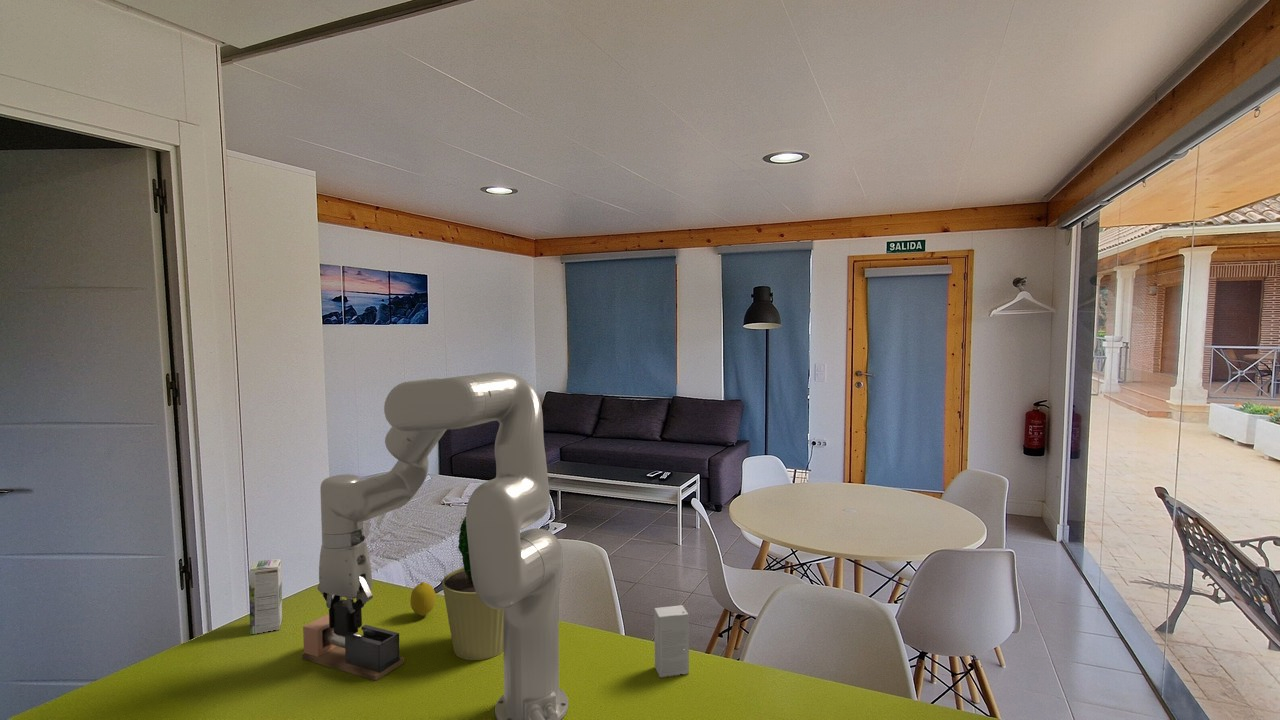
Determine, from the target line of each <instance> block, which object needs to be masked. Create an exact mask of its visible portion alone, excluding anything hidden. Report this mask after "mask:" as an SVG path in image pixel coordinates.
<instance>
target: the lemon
mask: <svg viewBox="0 0 1280 720" xmlns="http://www.w3.org/2000/svg"><path fill="white" fill-rule="evenodd" d="M436 599H437V597H436V592H435V589H434V587H433V586H432V585H431V584H430V583H426V582H423V581H422V582H420V583H419V584H417V585H416V586H415V587H413V590H411V594H410V601H409V602H410V608H411V609H412V611H413V612H414V613H415V614H417V615H419V616H421V617H425V616H426V615H427V614H429V613H431V611H432V610H433V609H434V607H435V604H436Z"/></svg>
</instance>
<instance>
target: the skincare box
mask: <svg viewBox="0 0 1280 720" xmlns="http://www.w3.org/2000/svg"><path fill="white" fill-rule="evenodd" d="M653 611H654V612H653V617H654V618H653V619H654V620H653V623H654V625H653V626H654V667H655V669H656V672H657V675H658V677H659V678H660V677H661V678H667V676H668V677H675V676H681V675H680V674H683V675H687V674H688V673H689V674H690V657H689V656H690V655H689V654H690V643H689V642H690V636H689V635H690V628H689V624H690V623H689V613H688V611H687V610H686V609H685V607H684V605H682V604H681V605H673V606H670V605H669V606H661V607H654V608H653ZM683 649H685V650H683ZM689 674H688V675H689ZM674 675H675V676H674Z"/></svg>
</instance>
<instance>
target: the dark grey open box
mask: <svg viewBox="0 0 1280 720" xmlns="http://www.w3.org/2000/svg"><path fill="white" fill-rule="evenodd" d="M360 629H361V631H362V635H363V636H365V637H361V636H357V635H353V634H347V635H345V656H346V663H347V664H351V665H354V666H358V667H361V668H365V669H368V670H372V671H375V672H378V673H381V672H382V671H384V670H386V669H387V668H389V667H390V666H392V665H393V664H395V663H396V662H398V661H399V660H400V657H401V655H400V654H401V651H400V633H399V632H396V631H392V630H388V629H384V628H380V627H376V626H372V625H368V624H364V625H362V626H361V627H360Z"/></svg>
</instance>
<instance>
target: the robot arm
mask: <svg viewBox="0 0 1280 720" xmlns="http://www.w3.org/2000/svg"><path fill="white" fill-rule="evenodd" d="M383 410H384V412H383V413H384V415H385V418H386V421H387V422H388V424H389V425H390V426H391V427H390V429H389V430H388V432H387V433H386V435H385V438H384V446H385V447H386V449H387V451H388V452H389V454H391V456H393V458H395V459H396V460H397V462H396V463H395V464H394V465H393V467H392V468H391V469H390V471H389V472H386V473H384V474H379V475H377V476H373V477H369V478H366V479H361V478H360V477H359V476H357V474H355V475H354V474H339V475H332V476H328V477H327V478H324V479H323V481H322V482H321V483H320V491H319V492H320V514H321V516H320V517H321V518H320V521H321V523H320V524H321V548H320V554H319V560H318V561H319V564H318V585H317V590H318V592H319V593H321V595H322V596H323V598H324V599H325V603H326V605H325V606H326V608H328V614H329V627H330V628H334V620H333V604H334V603H336V602H338V601H340V600H342V599H343V598H346V600H347V604H348V610H349V612H348V613H346V621H347V632H349V633H350V632H352V631H354V630H356V629H358V630H359V629H361V627H362V626H363V622H362V621H363V620H362V619H363V616H362V615H363V614H362V609H363V608H364V607H365V605H366V604H367V602H369V601H371V600H372V599H373V593H372V591H371V590H372V588H373V575H372V566H371V565H372V564H371V559H370V553H369V548H368V545H367V543H365V540H366V538H365V537H366V536H365V535H364V522H365V521H368V520H371V519H374V518H376V517H377V518H378V517H380V516H382V515H384V514H387V513H390V512H392V511H395V510H398V509H400V508H403V507H404V506H406V505H407V504H408V503H409V502H410V501H411V499H413V497H414V496H415V495H416V494H417V492H418V491H419V489H420V488H421V487H422V486H423V484H424V483H425V481H426V479H427V476H428V472H429V458H428V457H429V455H430V453H431V452H432V451H433V449H434V448H435V446H437V444H438V442H439V441H440V439H441V438H442V437H443V436H444V434H445V432H446V431H447V430H457V429H464V428H469V427H473V426H477V425H482V424H487V423H490V422H496V421H497V422H498V423H499V426H498V431H497V432H496V437H495V441H494V456H495V467H496V469H495V471H496V472H495V473H496V475H495V477H494V478H493V479H489V480H486V481H485V482H483V483H481V484H479V486H477V487H476V488H475V489H474V490H473V492H471V494H470V497H469V499H468V502H467V505H466V511H465V517H466V528H467V538H468V548H469V557H470V567H471V575H472V581H473V585H474V588H475V591H476V593H477V595H478V597H479V598H480V599H481V601H482V602H483V603H484V604H485V605H487V606H488V607H491V608H493V609H504V615H503V640H504V652H503V694H502V695H501V696H500V697H499V698H498V700H497V701H496V703H495V707H494V708H495V709H494V713H495V714H494V715H495V719H496V720H562V719H563V718H564V717H566V716H565V715H566V714H567V712H568V709H569V698H568V695H567V694H566V692H565V691H564V690H563V689H561V688H560V643H559V642H560V638H559V636H560V634H559V633H560V629H559V628H560V627H559V624H560V592H561V584H562V577H563V570H564V551H563V547H562V545H561V542H560V541H559V538H557V537H556V535H555V534H554V533H552V532H551V531H549V530H547V529H544V528H538V527H537V528H536V527H535V528H531V529H526V528H527V527H529V526H531V525H533V524H535V523H536V522H538V521H539V520H540V519H542V518H543V517H544V516H545V515H547V512H548V511H549V509H550V503H551V500H550V499H551V497H550V496H551V495H550V485H549V477H548V476H549V475H548V466H547V457H546V450H545V440H544V439H545V438H544V416H543V409H542V403H541V400H540V397H539V395H538V393H537V391H536V390H535V388H534V387H533V386H532V385H531V384H530V383H529V382H528V381H527V380H526V379H524V378H522V377H521V376H519V375H516V374H514V373H509V372H502V371H501V372H499V371H498V372H483V373H478V374H470V375H469V374H468V375H462V376H453V377H446V378H428V379H419V380H410V381H404V382H401V383H399V384H397V385H395V386H394V387H393V388H392V389H391V390H390V391H389V392H388V393H387V396H386V398H385V400H384V406H383ZM524 529H526V530H524ZM522 530H523V531H522ZM521 531H522V532H521ZM354 599H356V601H354ZM354 602H355V603H354Z"/></svg>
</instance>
